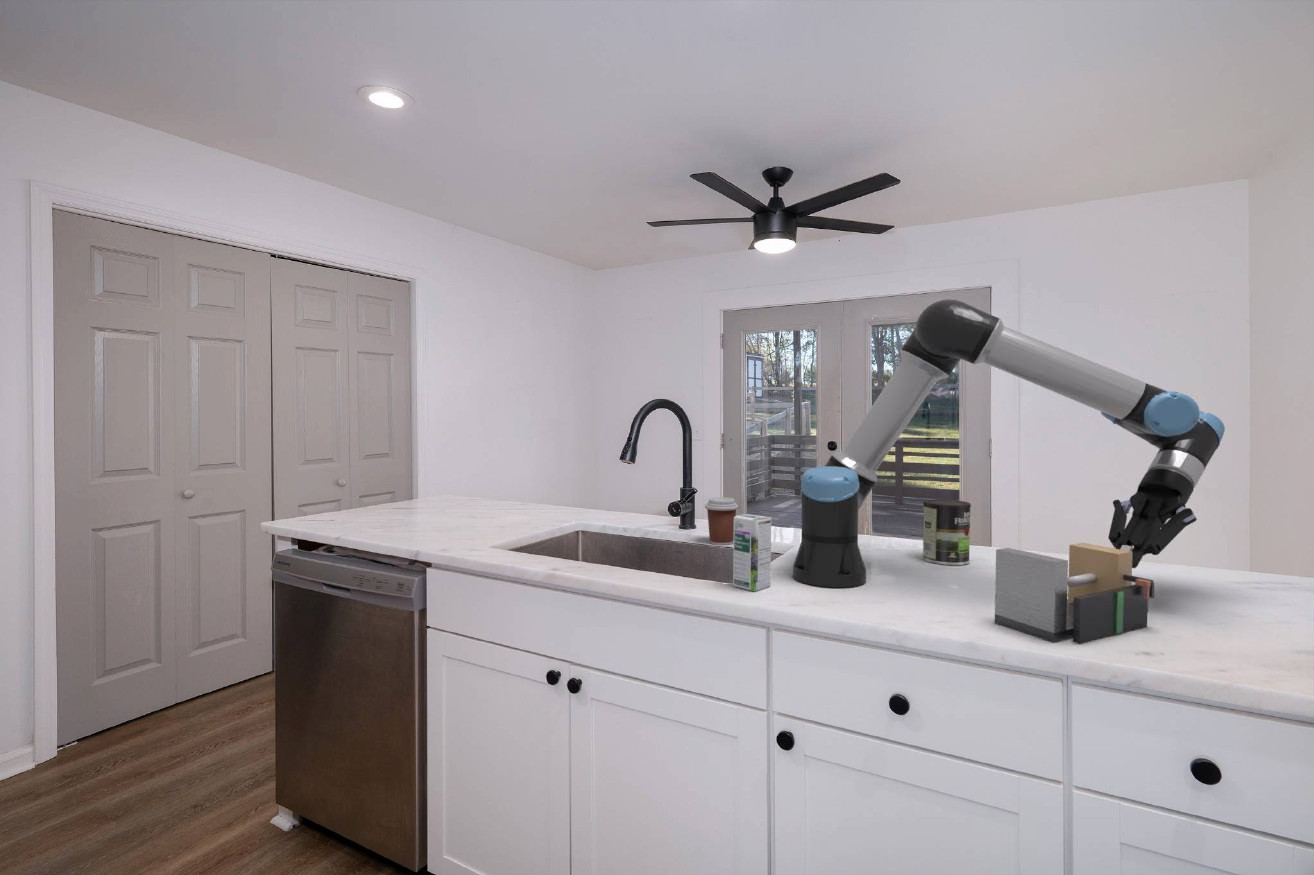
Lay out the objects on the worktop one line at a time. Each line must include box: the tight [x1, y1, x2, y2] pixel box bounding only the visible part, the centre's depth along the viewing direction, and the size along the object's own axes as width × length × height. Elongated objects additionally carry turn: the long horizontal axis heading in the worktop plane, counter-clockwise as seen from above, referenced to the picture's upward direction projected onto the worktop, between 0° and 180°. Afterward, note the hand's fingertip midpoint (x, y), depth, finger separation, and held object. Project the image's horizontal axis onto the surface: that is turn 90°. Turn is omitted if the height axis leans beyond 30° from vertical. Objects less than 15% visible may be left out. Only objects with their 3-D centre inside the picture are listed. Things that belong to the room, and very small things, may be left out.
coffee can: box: [922, 499, 972, 566], centre depth 148 cm, size 10×10×14 cm
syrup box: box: [732, 513, 772, 593], centre depth 127 cm, size 6×6×14 cm
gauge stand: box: [994, 547, 1149, 645], centre depth 104 cm, size 22×12×12 cm, turn 115°
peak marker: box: [1134, 579, 1151, 600], centre depth 101 cm, size 1×2×3 cm, turn 25°
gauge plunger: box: [1067, 542, 1155, 602], centre depth 105 cm, size 10×12×10 cm
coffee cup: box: [704, 496, 740, 546], centre depth 169 cm, size 9×9×12 cm
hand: (1114, 578), depth 110 cm, fingers closed
